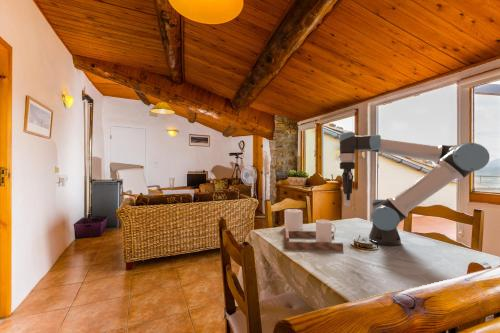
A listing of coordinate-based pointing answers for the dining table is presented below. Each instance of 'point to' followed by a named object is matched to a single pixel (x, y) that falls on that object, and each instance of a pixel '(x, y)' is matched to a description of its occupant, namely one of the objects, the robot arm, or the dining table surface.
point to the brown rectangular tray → (309, 244)
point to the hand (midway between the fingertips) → (347, 205)
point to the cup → (294, 219)
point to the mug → (324, 231)
